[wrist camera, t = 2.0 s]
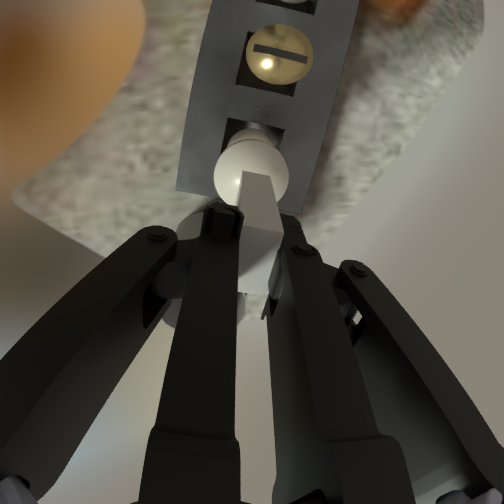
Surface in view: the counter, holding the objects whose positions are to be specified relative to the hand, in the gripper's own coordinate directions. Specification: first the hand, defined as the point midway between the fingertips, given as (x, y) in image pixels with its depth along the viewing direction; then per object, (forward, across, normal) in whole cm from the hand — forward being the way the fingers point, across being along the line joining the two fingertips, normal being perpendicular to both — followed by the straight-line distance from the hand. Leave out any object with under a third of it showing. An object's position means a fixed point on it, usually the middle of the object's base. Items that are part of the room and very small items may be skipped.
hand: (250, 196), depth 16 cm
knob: (+10, 0, 0) cm, 11 cm away
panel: (+14, 0, +8) cm, 16 cm away
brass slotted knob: (+10, 0, +8) cm, 13 cm away
